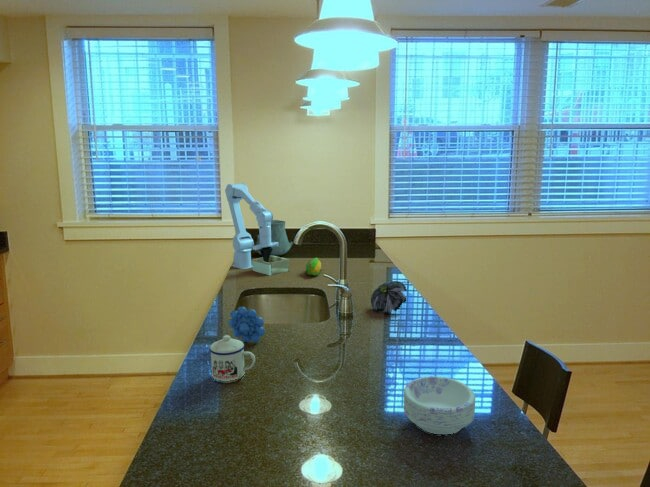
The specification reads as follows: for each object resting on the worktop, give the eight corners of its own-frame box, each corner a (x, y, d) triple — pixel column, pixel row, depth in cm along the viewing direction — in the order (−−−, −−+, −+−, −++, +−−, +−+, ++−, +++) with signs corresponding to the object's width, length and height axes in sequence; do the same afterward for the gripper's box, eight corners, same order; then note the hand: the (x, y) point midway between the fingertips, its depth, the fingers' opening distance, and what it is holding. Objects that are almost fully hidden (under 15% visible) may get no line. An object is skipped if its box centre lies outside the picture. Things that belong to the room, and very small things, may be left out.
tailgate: (252, 270, 250) (252, 259, 249) (254, 270, 250) (254, 258, 249) (269, 275, 240) (269, 263, 239) (271, 275, 240) (271, 263, 239)
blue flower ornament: (225, 347, 153) (223, 310, 151) (231, 339, 160) (230, 304, 158) (262, 348, 152) (260, 311, 150) (267, 340, 159) (265, 304, 157)
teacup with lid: (207, 384, 129) (204, 342, 127) (217, 369, 138) (214, 329, 136) (252, 385, 128) (250, 343, 126) (259, 370, 137) (257, 330, 135)
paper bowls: (441, 453, 99) (443, 416, 97) (389, 420, 111) (389, 387, 109) (488, 427, 107) (490, 394, 106) (435, 400, 119) (436, 369, 118)
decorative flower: (359, 283, 189) (393, 269, 192) (363, 306, 195) (397, 292, 198) (377, 303, 177) (413, 288, 180) (381, 327, 183) (416, 312, 187)
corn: (304, 262, 235) (310, 253, 255) (303, 277, 237) (309, 267, 256) (319, 263, 235) (324, 254, 254) (318, 279, 236) (323, 269, 256)
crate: (255, 271, 251) (254, 258, 250) (272, 267, 258) (272, 255, 257) (272, 276, 241) (271, 262, 240) (289, 272, 248) (289, 259, 247)
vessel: (296, 257, 283) (295, 223, 279) (258, 260, 277) (256, 225, 274) (289, 250, 304) (288, 218, 300) (253, 252, 298) (252, 219, 294)
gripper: (258, 238, 236) (259, 265, 238) (281, 234, 246) (282, 261, 248) (249, 236, 241) (250, 263, 243) (273, 232, 251) (273, 258, 253)
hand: (266, 262), depth 246 cm, fingers closed
